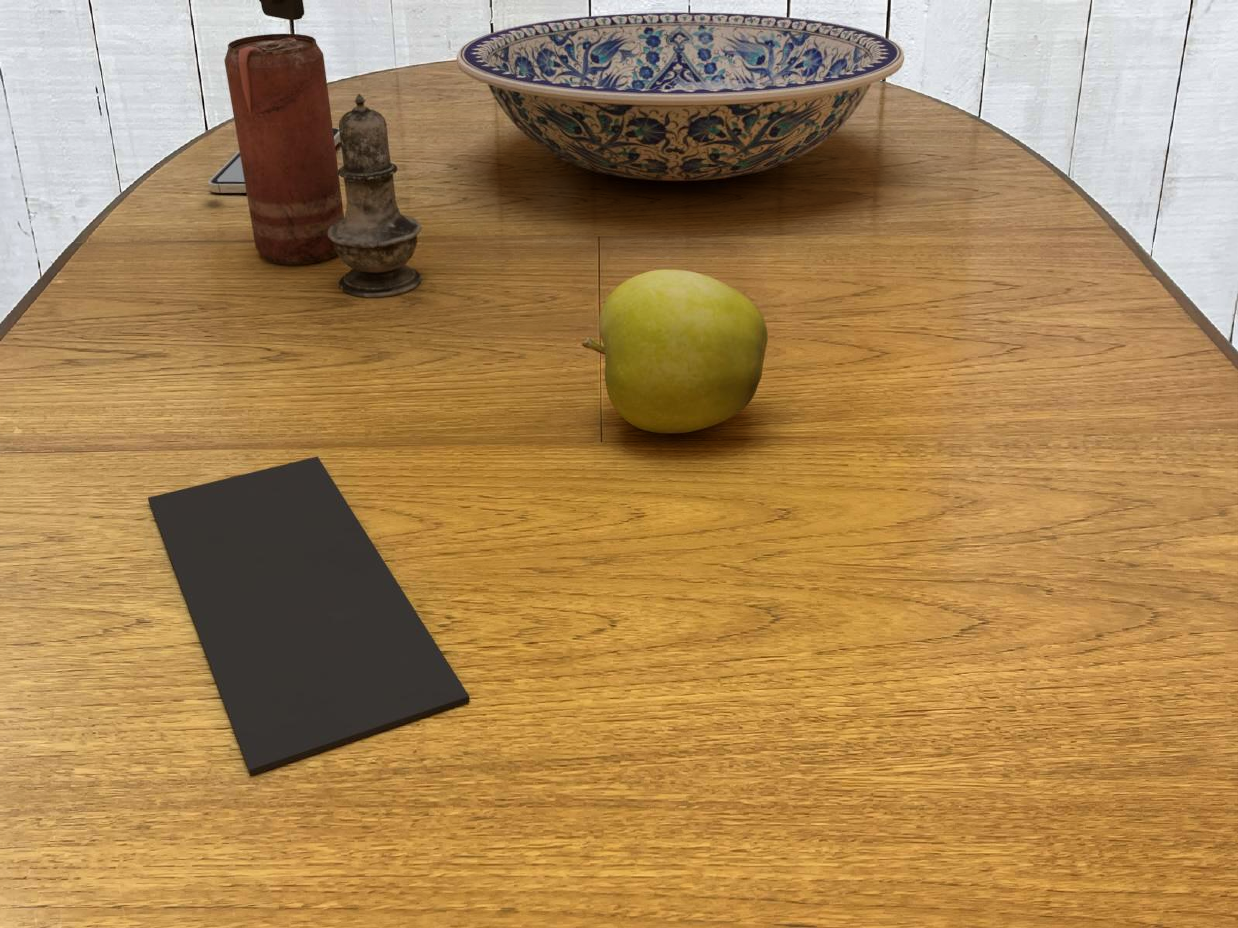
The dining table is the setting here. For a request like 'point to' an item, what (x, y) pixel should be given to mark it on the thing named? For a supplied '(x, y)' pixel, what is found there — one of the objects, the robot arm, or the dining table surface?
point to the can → (285, 145)
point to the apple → (680, 350)
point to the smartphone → (238, 173)
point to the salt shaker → (372, 212)
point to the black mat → (299, 614)
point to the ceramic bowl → (679, 88)
